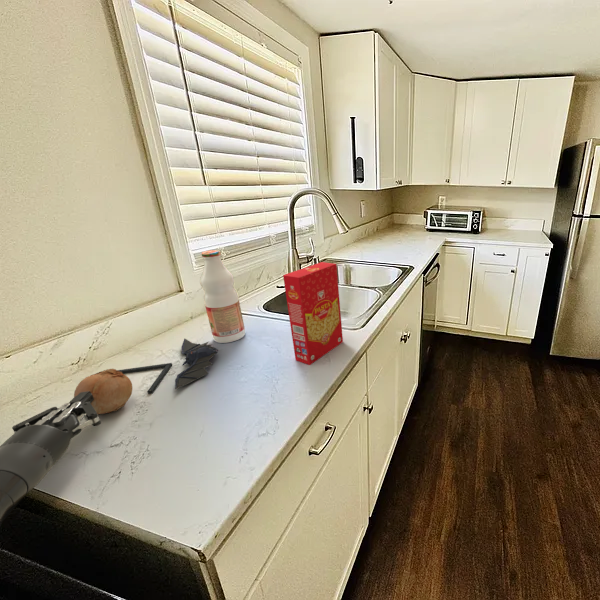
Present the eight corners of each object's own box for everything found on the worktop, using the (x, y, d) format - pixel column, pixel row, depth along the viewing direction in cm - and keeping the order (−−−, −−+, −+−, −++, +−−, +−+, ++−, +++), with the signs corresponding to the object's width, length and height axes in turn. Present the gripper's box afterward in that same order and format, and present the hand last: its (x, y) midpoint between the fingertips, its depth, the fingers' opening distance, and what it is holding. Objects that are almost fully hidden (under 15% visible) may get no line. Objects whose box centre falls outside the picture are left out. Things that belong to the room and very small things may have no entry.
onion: (132, 409, 77) (144, 368, 78) (114, 423, 68) (128, 376, 69) (82, 405, 74) (95, 361, 75) (56, 419, 65) (72, 369, 66)
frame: (82, 404, 75) (81, 401, 74) (112, 373, 86) (111, 370, 86) (152, 393, 78) (151, 390, 78) (172, 365, 90) (171, 362, 89)
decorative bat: (216, 368, 80) (169, 383, 76) (221, 382, 81) (175, 397, 77) (216, 323, 104) (180, 333, 100) (220, 335, 106) (184, 344, 102)
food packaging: (309, 365, 89) (298, 277, 80) (295, 360, 91) (283, 275, 82) (342, 342, 101) (336, 263, 92) (329, 338, 103) (322, 261, 94)
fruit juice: (232, 345, 100) (212, 256, 90) (206, 342, 102) (184, 254, 92) (252, 331, 108) (235, 248, 98) (228, 329, 111) (209, 247, 101)
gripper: (62, 435, 51) (119, 374, 67) (-46, 454, 48) (40, 385, 64) (80, 470, 54) (130, 404, 70) (-21, 490, 51) (55, 415, 66)
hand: (87, 395), depth 67 cm, fingers closed
